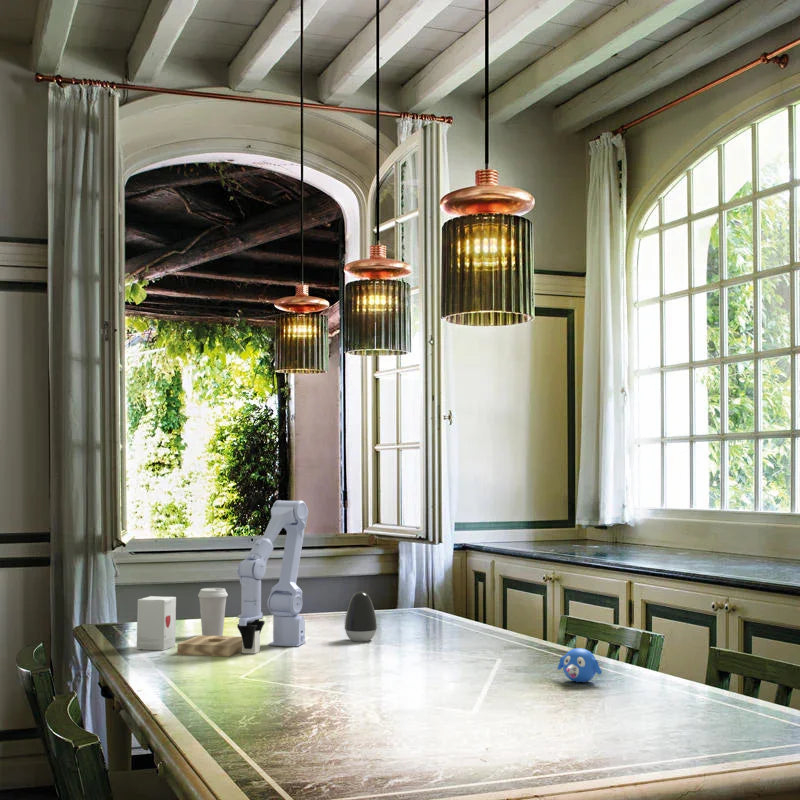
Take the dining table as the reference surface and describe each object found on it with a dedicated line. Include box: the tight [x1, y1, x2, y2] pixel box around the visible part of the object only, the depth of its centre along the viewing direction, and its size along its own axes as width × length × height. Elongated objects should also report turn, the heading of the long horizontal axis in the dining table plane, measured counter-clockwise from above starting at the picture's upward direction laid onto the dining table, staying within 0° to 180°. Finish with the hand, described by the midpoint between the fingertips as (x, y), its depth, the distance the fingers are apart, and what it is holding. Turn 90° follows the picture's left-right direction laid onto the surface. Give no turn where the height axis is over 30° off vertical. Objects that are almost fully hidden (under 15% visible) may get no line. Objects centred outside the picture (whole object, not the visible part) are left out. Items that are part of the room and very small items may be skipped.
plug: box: [241, 631, 261, 655], centre depth 305 cm, size 4×4×8 cm
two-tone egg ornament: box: [344, 591, 378, 642], centre depth 327 cm, size 10×10×15 cm
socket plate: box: [176, 634, 242, 657], centre depth 308 cm, size 16×16×3 cm
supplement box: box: [136, 595, 177, 651], centre depth 314 cm, size 9×9×15 cm
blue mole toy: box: [557, 647, 603, 683], centre depth 260 cm, size 12×12×8 cm
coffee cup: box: [197, 587, 229, 636], centre depth 335 cm, size 10×10×15 cm
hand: (250, 647), depth 305 cm, fingers closed on plug, 4 cm apart
